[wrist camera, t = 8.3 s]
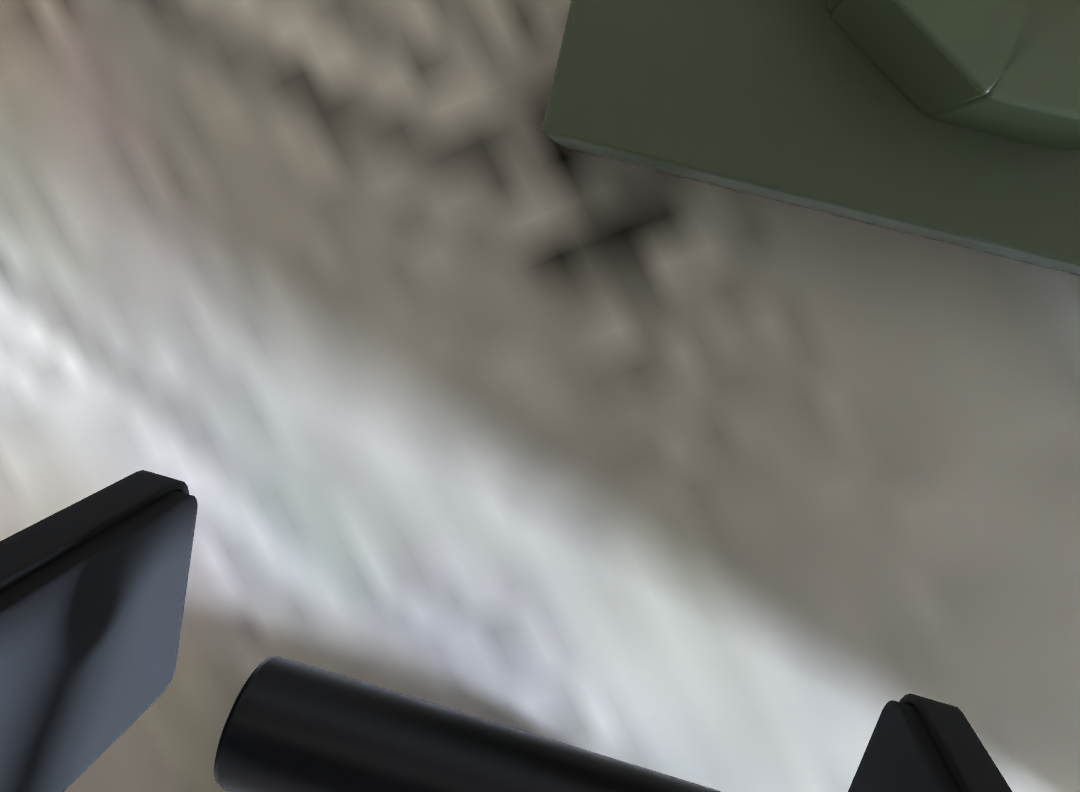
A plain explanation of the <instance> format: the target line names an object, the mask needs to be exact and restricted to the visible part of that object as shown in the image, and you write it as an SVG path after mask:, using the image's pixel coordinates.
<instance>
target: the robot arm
mask: <svg viewBox="0 0 1080 792" xmlns="http://www.w3.org/2000/svg"><path fill="white" fill-rule="evenodd" d="M196 514H197V500H196V498H195V497H194V496H192V495H189V491H188V487H187V485H186V484H185V482H183V481H179V480H176V479H172V478H169V477H165V476H162V475H159V474H155V473H152V472H148V471H144V470H142V471H138V472H136V473H134V474H132V475H130V476H128V477H126V478H124V479H122V480H120V481H118V482H116V483H114V484H112V485H110V486H108V487H106V488H104V489H102V490H100V491H98V492H96V493H94V494H92V495H90V496H88V497H86V498H85V499H83V500H81V501H79V502H77V503H75V504H73V505H71V506H69V507H67V508H65V509H63V510H61V511H59V512H57V513H55V514H53V515H51V516H49V517H47V518H45V519H43V520H41V521H39V522H37V523H35V524H33V525H32V526H30V527H28V528H26V529H24V530H22V531H20V532H18V533H16V534H14V535H12V536H10V537H8V538H6V539H4V540H2V541H0V792H64V791H65V790H66V789H67V788H68V787H69V786H70V785H71V784H72V783H73V782H74V781H75V780H76V779H77V778H78V777H79V776H80V775H81V774H82V773H83V772H84V771H85V770H86V769H87V768H88V767H89V766H90V765H91V764H92V763H93V762H94V761H95V760H96V759H97V758H98V757H99V756H100V755H101V754H102V753H103V752H104V751H105V750H106V749H107V748H108V747H109V746H110V745H111V744H112V743H113V742H114V741H115V740H116V739H117V738H118V737H119V736H120V735H121V734H122V733H123V732H124V731H125V730H126V729H127V728H128V727H129V726H130V725H131V724H132V723H133V722H134V721H135V720H136V719H137V718H138V717H139V716H140V715H141V714H142V713H143V712H144V711H145V710H146V709H147V708H148V707H149V706H150V705H151V704H152V703H153V702H154V701H155V700H156V699H157V698H158V697H160V695H161V694H162V693H163V692H164V691H165V689H166V688H167V686H168V685H169V683H170V681H171V679H172V676H173V674H174V671H175V667H176V661H177V654H178V646H179V639H180V632H181V624H182V617H183V610H184V602H185V595H186V588H187V580H188V573H189V566H190V558H191V551H192V544H193V536H194V529H195V522H196ZM848 792H1012V791H1011V789H1010V787H1009V786H1008V784H1007V783H1006V781H1005V779H1004V778H1003V776H1002V775H1001V773H1000V771H999V770H998V768H997V767H996V765H995V764H994V762H993V760H992V759H991V757H990V756H989V754H988V752H987V751H986V749H985V748H984V746H983V744H982V743H981V741H980V740H979V738H978V737H977V735H976V733H975V732H974V730H973V729H972V727H971V725H970V724H969V722H968V721H967V719H966V717H965V716H964V714H963V713H962V712H961V711H960V709H959V708H958V707H955V706H952V705H948V704H945V703H941V702H938V701H934V700H931V699H928V698H924V697H921V696H917V695H914V694H907V695H905V696H904V697H903V698H902V699H901V700H900V702H897V701H893V700H892V701H889V702H888V703H887V704H886V705H885V707H884V709H883V710H882V713H881V715H880V717H879V720H878V722H877V724H876V727H875V729H874V732H873V734H872V736H871V739H870V741H869V743H868V746H867V748H866V751H865V753H864V755H863V758H862V760H861V762H860V765H859V767H858V770H857V772H856V774H855V777H854V779H853V781H852V784H851V786H850V788H849V791H848Z"/></svg>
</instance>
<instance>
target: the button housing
mask: <svg viewBox="0 0 1080 792" xmlns="http://www.w3.org/2000/svg"><path fill="white" fill-rule="evenodd" d="M542 129H543V132H544V133H545V134H546V135H547V136H549V137H550V138H551V139H553V140H554V141H555V142H557V143H558V144H559V145H561V146H562V147H565V148H569V149H573V150H577V151H581V152H585V153H589V154H593V155H597V156H601V157H605V158H609V159H613V160H617V161H621V162H625V163H629V164H633V165H637V166H641V167H645V168H649V169H653V170H657V171H661V172H665V173H669V174H673V175H677V176H681V177H685V178H689V179H693V180H697V181H701V182H705V183H709V184H713V185H717V186H721V187H725V188H729V189H733V190H737V191H741V192H745V193H749V194H754V195H758V196H762V197H766V198H770V199H774V200H778V201H782V202H786V203H790V204H794V205H798V206H802V207H806V208H810V209H814V210H818V211H822V212H826V213H830V214H834V215H838V216H842V217H846V218H850V219H854V220H858V221H862V222H866V223H870V224H874V225H878V226H882V227H886V228H890V229H894V230H898V231H902V232H906V233H910V234H914V235H918V236H922V237H926V238H930V239H934V240H938V241H942V242H946V243H951V244H955V245H959V246H963V247H967V248H971V249H975V250H979V251H983V252H987V253H991V254H995V255H999V256H1003V257H1007V258H1011V259H1015V260H1019V261H1023V262H1027V263H1031V264H1035V265H1039V266H1043V267H1047V268H1051V269H1055V270H1059V271H1063V272H1067V273H1071V274H1075V275H1079V276H1080V0H572V1H571V6H570V10H569V14H568V19H567V23H566V27H565V32H564V36H563V40H562V45H561V49H560V53H559V58H558V62H557V66H556V71H555V75H554V79H553V84H552V88H551V92H550V96H549V101H548V105H547V109H546V114H545V118H544V122H543V127H542Z"/></svg>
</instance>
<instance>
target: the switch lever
mask: <svg viewBox="0 0 1080 792" xmlns="http://www.w3.org/2000/svg"><path fill="white" fill-rule="evenodd" d="M214 778H215V781H216V783H217V784H218V785H219V786H220V787H221V788H222V789H223V790H226V791H230V792H720V791H718V790H714V789H711V788H708V787H705V786H701V785H698V784H695V783H691V782H688V781H685V780H682V779H678V778H675V777H672V776H669V775H665V774H662V773H659V772H655V771H652V770H649V769H646V768H642V767H639V766H636V765H633V764H629V763H626V762H623V761H619V760H616V759H613V758H610V757H606V756H603V755H600V754H597V753H593V752H590V751H587V750H583V749H580V748H577V747H574V746H570V745H567V744H564V743H561V742H557V741H554V740H551V739H547V738H544V737H541V736H538V735H534V734H531V733H528V732H525V731H521V730H518V729H515V728H511V727H508V726H505V725H502V724H498V723H495V722H492V721H489V720H485V719H482V718H479V717H475V716H472V715H469V714H466V713H462V712H459V711H456V710H453V709H449V708H446V707H443V706H439V705H436V704H433V703H430V702H426V701H423V700H420V699H417V698H413V697H410V696H407V695H403V694H400V693H397V692H394V691H390V690H387V689H384V688H381V687H377V686H374V685H371V684H367V683H364V682H361V681H358V680H354V679H351V678H348V677H345V676H341V675H338V674H335V673H331V672H328V671H325V670H322V669H318V668H315V667H312V666H309V665H305V664H302V663H299V662H295V661H292V660H289V659H286V658H282V657H279V656H277V657H270V658H267V659H265V660H264V661H263V662H261V663H260V664H259V665H258V666H257V668H256V669H255V670H254V671H253V673H252V674H251V675H250V677H249V678H248V680H247V681H246V682H245V684H244V686H243V687H242V689H241V691H240V692H239V694H238V696H237V698H236V700H235V702H234V704H233V706H232V708H231V710H230V712H229V715H228V717H227V719H226V722H225V725H224V727H223V730H222V733H221V736H220V740H219V744H218V748H217V752H216V758H215V764H214Z"/></svg>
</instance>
